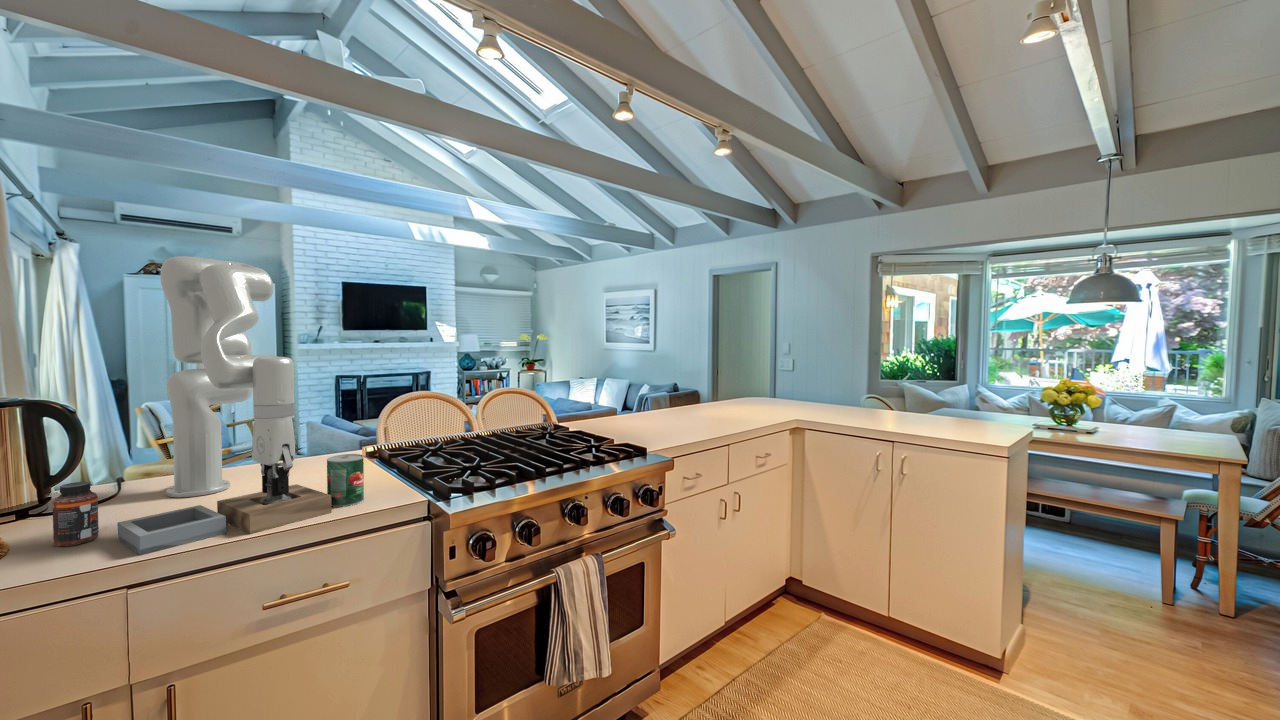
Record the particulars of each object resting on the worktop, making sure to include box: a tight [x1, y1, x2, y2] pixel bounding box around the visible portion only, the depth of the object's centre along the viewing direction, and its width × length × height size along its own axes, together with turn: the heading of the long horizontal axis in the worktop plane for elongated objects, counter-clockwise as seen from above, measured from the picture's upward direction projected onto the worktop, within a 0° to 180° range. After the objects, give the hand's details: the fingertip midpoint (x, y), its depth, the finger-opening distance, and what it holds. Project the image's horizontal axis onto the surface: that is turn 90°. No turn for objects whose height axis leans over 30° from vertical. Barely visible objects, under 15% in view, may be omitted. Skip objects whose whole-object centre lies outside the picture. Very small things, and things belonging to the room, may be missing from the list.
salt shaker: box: [259, 466, 291, 505], centre depth 116 cm, size 6×6×12 cm
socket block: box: [216, 484, 332, 535], centre depth 116 cm, size 16×16×4 cm
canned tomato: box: [326, 453, 365, 508], centre depth 126 cm, size 8×8×11 cm
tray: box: [116, 504, 227, 556], centre depth 103 cm, size 13×13×4 cm
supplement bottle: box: [52, 481, 99, 547], centre depth 100 cm, size 6×6×11 cm
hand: (275, 492), depth 116 cm, fingers closed on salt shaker, 3 cm apart
